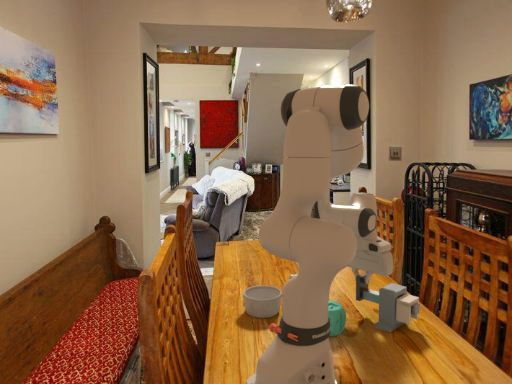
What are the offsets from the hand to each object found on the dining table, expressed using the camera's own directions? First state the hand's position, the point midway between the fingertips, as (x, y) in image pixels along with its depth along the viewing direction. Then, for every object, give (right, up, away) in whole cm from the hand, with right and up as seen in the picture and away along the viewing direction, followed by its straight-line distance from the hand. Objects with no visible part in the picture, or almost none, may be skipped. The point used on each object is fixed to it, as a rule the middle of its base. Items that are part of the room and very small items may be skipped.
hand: (362, 282), depth 126 cm
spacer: (+11, -9, -11) cm, 18 cm away
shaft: (+6, -6, -6) cm, 11 cm away
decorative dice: (-13, -12, -11) cm, 21 cm away
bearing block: (+7, -11, -7) cm, 15 cm away
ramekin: (-33, -11, +4) cm, 35 cm away
